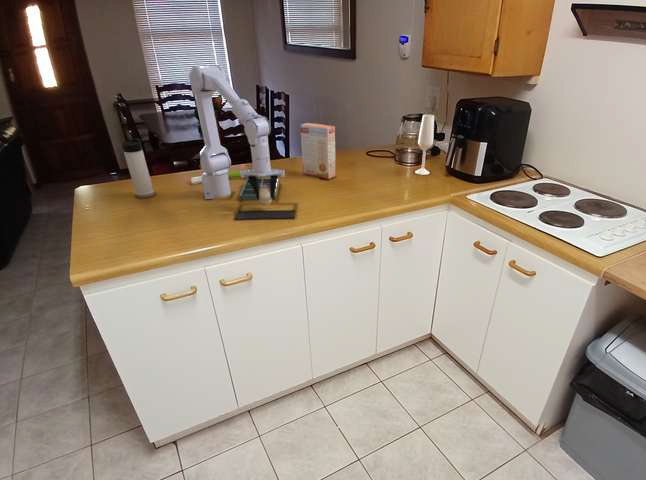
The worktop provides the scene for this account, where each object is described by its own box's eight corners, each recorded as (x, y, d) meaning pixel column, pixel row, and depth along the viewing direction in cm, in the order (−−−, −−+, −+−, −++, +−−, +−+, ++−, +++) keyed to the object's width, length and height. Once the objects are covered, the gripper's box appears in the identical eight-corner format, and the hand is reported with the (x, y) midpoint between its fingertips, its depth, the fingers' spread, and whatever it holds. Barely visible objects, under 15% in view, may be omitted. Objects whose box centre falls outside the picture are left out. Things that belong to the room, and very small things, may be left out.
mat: (235, 219, 138) (234, 218, 137) (241, 204, 149) (241, 203, 149) (294, 218, 139) (294, 217, 139) (295, 203, 151) (295, 202, 150)
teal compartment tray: (240, 202, 151) (239, 195, 149) (247, 185, 167) (246, 178, 166) (276, 202, 152) (275, 194, 150) (279, 185, 168) (279, 178, 166)
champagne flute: (413, 173, 183) (418, 116, 170) (417, 169, 189) (422, 113, 175) (427, 175, 181) (434, 117, 168) (431, 171, 187) (438, 114, 173)
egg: (259, 207, 141) (256, 187, 137) (260, 202, 144) (258, 183, 140) (272, 206, 141) (270, 187, 137) (273, 202, 145) (271, 182, 141)
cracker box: (336, 176, 178) (335, 125, 167) (328, 180, 174) (327, 128, 162) (310, 171, 184) (308, 121, 173) (302, 174, 180) (299, 124, 168)
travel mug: (158, 193, 158) (144, 139, 147) (145, 199, 153) (129, 143, 142) (146, 191, 160) (132, 137, 149) (133, 196, 155) (116, 141, 144)
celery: (194, 184, 172) (265, 175, 177) (193, 192, 167) (266, 182, 171) (190, 171, 168) (262, 161, 172) (189, 178, 163) (263, 168, 167)
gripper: (236, 161, 130) (242, 201, 137) (282, 160, 131) (285, 201, 138) (239, 155, 136) (245, 194, 143) (283, 154, 137) (286, 194, 144)
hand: (265, 197), depth 141 cm, fingers closed on egg, 4 cm apart
